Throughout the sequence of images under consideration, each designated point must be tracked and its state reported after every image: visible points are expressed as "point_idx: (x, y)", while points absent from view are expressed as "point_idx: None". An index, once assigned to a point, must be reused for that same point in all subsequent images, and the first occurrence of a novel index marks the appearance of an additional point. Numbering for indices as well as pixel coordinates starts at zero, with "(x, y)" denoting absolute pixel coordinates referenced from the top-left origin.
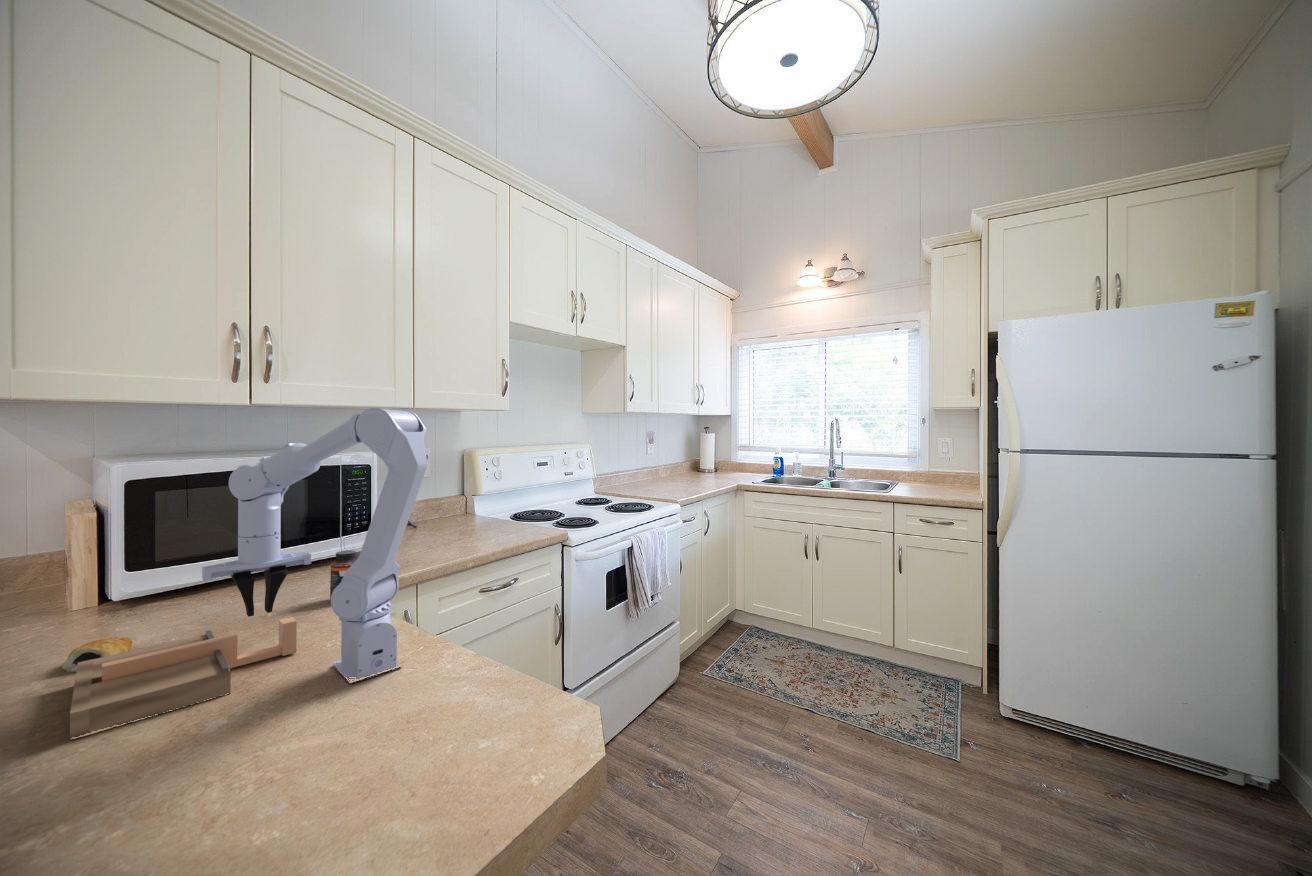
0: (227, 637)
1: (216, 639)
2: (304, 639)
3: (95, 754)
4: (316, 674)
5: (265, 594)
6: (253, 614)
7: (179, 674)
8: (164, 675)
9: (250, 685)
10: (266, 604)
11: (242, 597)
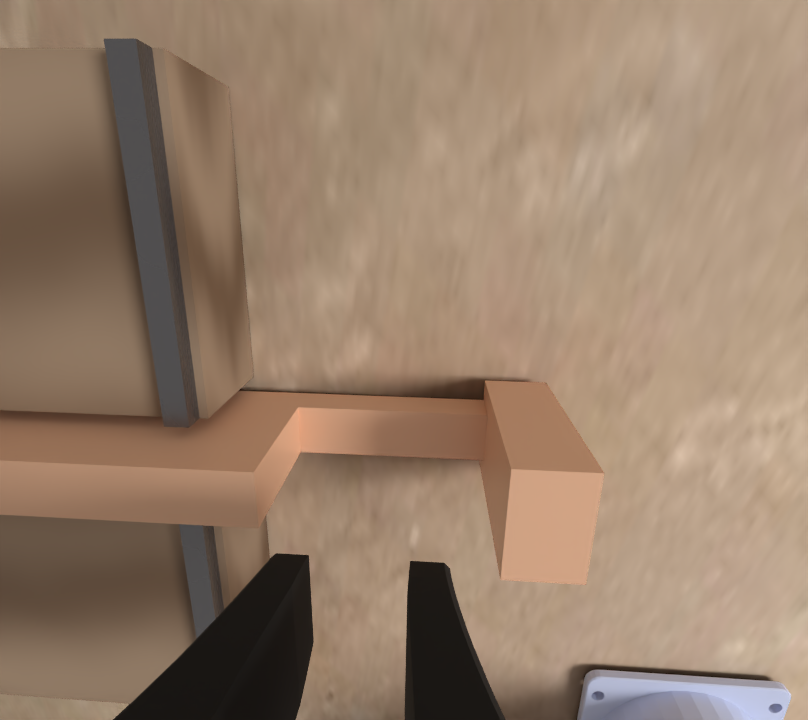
0: (209, 513)
1: (156, 500)
2: (640, 274)
3: (11, 709)
4: (518, 684)
5: (413, 686)
6: (308, 652)
7: (78, 614)
8: (27, 582)
9: (333, 612)
10: (406, 682)
11: (152, 683)
